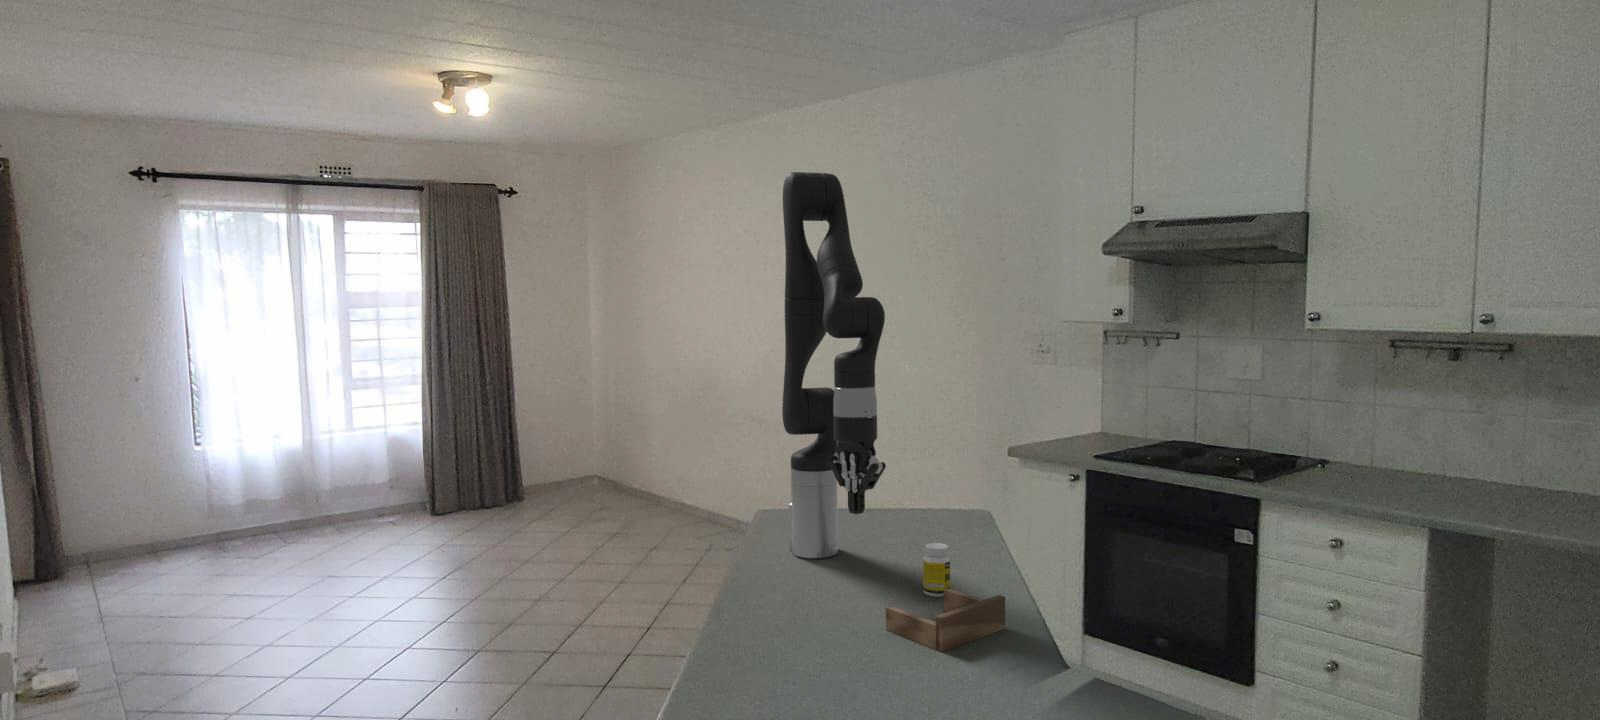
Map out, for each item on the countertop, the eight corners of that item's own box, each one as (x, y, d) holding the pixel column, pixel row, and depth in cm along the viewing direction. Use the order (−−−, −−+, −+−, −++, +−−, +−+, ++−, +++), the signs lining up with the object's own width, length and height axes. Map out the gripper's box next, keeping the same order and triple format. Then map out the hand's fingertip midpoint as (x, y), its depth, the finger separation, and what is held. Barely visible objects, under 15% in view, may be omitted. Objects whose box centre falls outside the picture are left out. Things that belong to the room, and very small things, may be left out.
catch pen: (885, 629, 131) (885, 598, 131) (948, 609, 140) (948, 579, 140) (942, 652, 122) (942, 618, 122) (1005, 628, 131) (1005, 596, 131)
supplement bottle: (950, 598, 146) (949, 550, 145) (922, 596, 147) (921, 548, 146) (950, 589, 150) (950, 542, 150) (923, 588, 151) (923, 541, 151)
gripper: (813, 412, 148) (815, 510, 149) (865, 417, 138) (866, 522, 139) (845, 409, 153) (847, 504, 154) (897, 414, 143) (899, 516, 143)
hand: (856, 512), depth 146 cm, fingers closed
